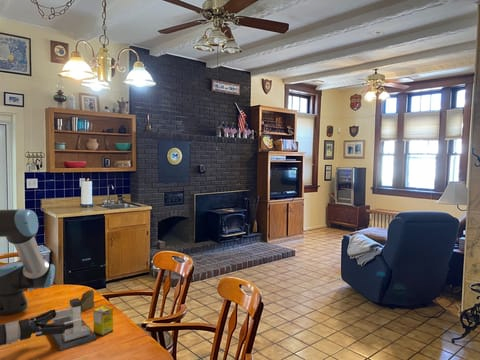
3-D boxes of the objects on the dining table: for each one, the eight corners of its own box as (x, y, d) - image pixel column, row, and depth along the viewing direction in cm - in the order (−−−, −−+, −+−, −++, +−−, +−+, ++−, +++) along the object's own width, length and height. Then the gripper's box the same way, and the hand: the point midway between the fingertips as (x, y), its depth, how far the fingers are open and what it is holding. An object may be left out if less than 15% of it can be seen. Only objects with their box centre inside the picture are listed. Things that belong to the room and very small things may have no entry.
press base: (47, 328, 164) (46, 317, 164) (79, 320, 173) (79, 309, 173) (60, 350, 146) (60, 338, 146) (95, 339, 155) (95, 328, 155)
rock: (76, 311, 178) (97, 304, 183) (72, 294, 181) (93, 288, 187) (75, 317, 186) (95, 310, 191) (71, 301, 189) (91, 295, 195)
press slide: (61, 337, 152) (61, 301, 151) (86, 330, 158) (85, 296, 157) (64, 342, 148) (64, 305, 147) (89, 334, 155) (89, 299, 154)
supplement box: (113, 331, 163) (113, 307, 162) (102, 336, 157) (102, 312, 157) (104, 328, 166) (104, 304, 165) (93, 333, 160) (93, 309, 160)
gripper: (14, 328, 149) (69, 314, 163) (24, 354, 130) (85, 336, 143) (13, 310, 149) (68, 298, 162) (23, 333, 129) (85, 318, 143)
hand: (76, 316), depth 153 cm, fingers open, 13 cm apart
